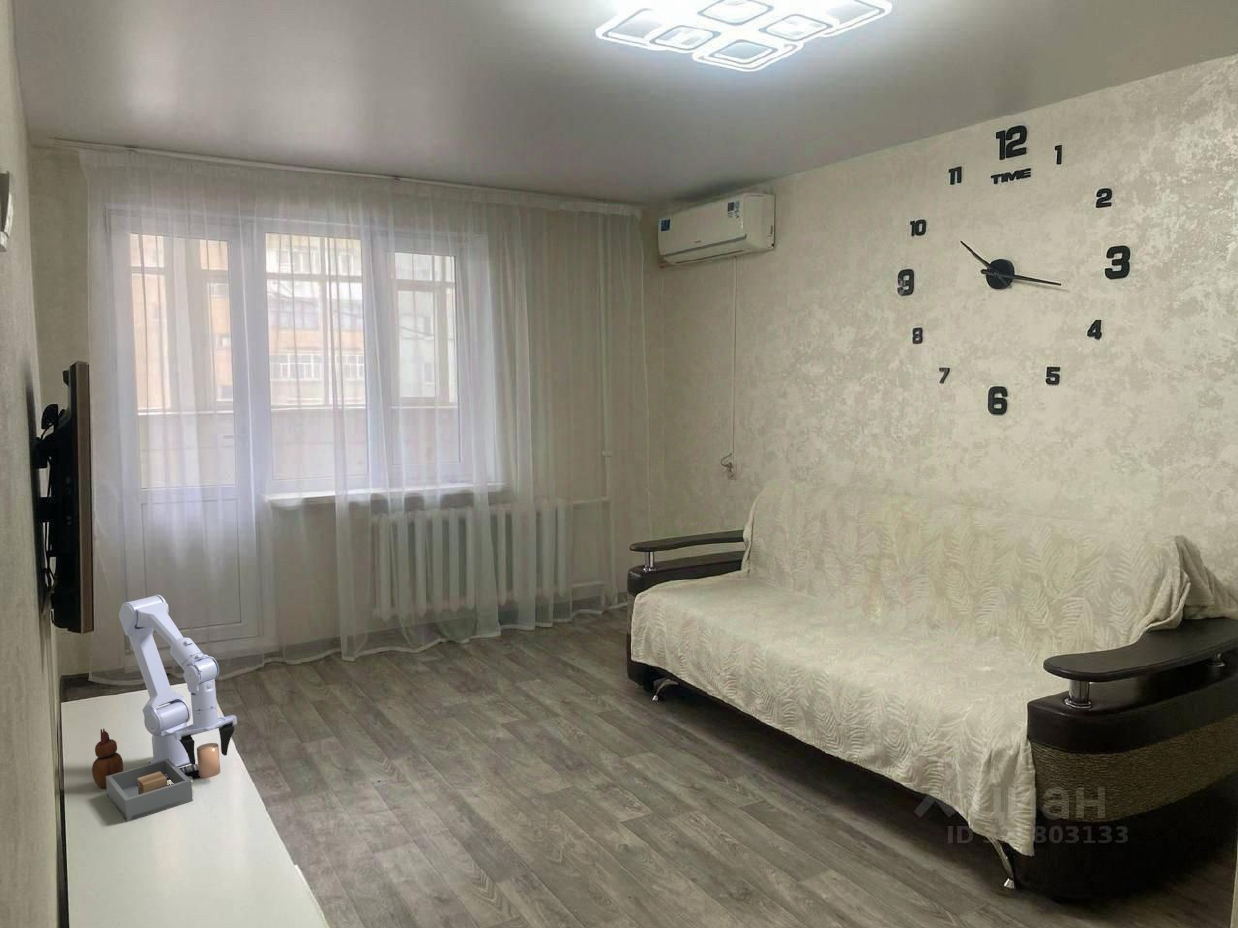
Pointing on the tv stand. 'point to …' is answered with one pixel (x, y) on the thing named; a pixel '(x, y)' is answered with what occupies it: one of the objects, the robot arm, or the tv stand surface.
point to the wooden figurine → (106, 760)
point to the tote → (136, 806)
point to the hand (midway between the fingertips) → (208, 758)
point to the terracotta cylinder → (208, 760)
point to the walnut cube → (151, 782)
